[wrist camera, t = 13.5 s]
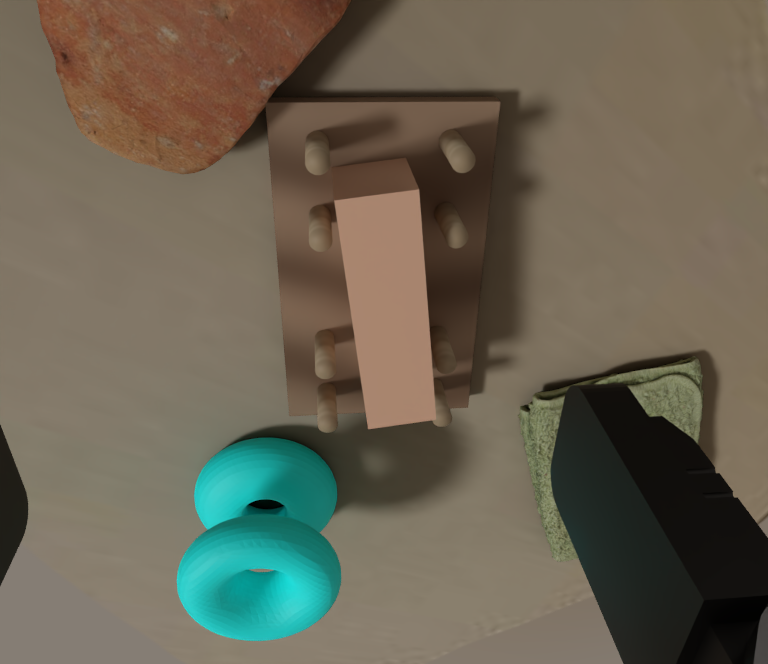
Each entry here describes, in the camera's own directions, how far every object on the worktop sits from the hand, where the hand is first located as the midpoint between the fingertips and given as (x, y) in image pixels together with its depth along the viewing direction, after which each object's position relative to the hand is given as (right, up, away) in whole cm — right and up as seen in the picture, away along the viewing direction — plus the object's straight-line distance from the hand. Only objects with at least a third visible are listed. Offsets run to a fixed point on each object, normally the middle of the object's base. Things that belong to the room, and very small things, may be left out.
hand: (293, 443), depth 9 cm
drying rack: (+1, +5, +30) cm, 30 cm away
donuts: (-7, -9, +38) cm, 40 cm away
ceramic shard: (-9, +18, +21) cm, 30 cm away
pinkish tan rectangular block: (+1, +5, +29) cm, 29 cm away
